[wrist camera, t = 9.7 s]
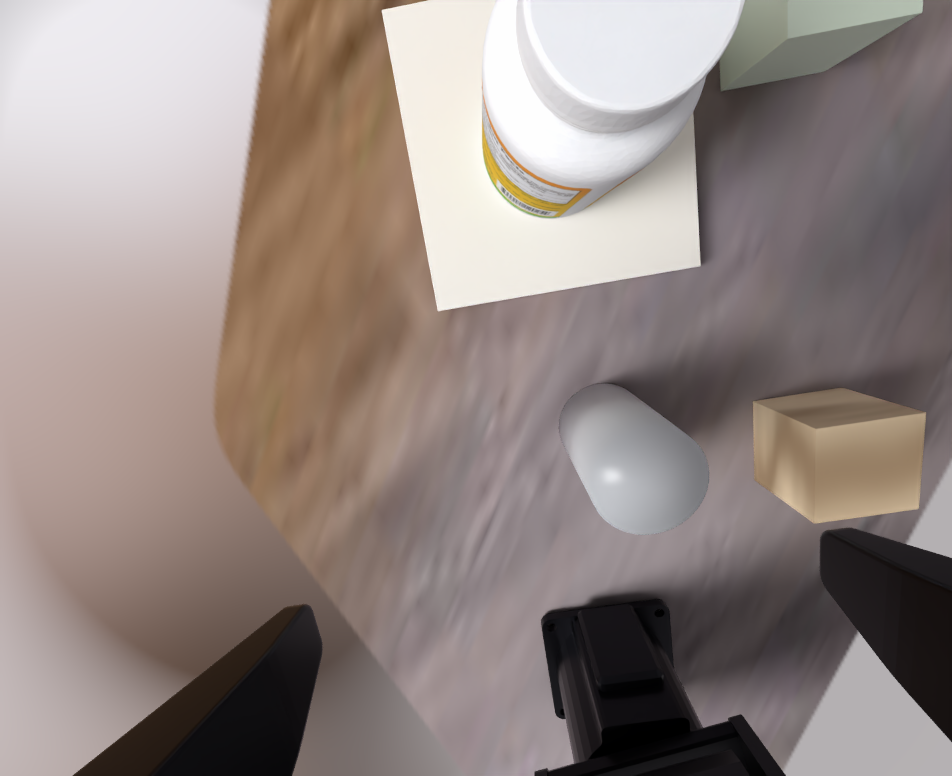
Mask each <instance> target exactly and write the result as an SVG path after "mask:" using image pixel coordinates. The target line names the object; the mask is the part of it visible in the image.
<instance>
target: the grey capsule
mask: <svg viewBox="0 0 952 776" xmlns="http://www.w3.org/2000/svg"><path fill="white" fill-rule="evenodd" d="M559 434H560V438H561V441H562V443H563V445H564V447H565V449H566V451H567V453H568V455H569V457H570V459H571V461H572V463H573V465H574V467H575V469H576V471H577V473H578V474H579V476H580V478H581V480H582V482H583V484H584V486H585V488H586V490H587V492H588V494H589V496H590V498H591V500H592V502H593V504H594V506H595V508H596V510H597V511H598V513H599V514H600V515H601V517H602V518H603V519H604V520H605V521H606V522H608V523H609V524H610V525H612V526H613V527H615V528H617V529H619V530H622V531H624V532H628V533H631V534H638V535H649V534H657V533H661V532H665V531H668V530H670V529H672V528H674V527H676V526H678V525H680V524H681V523H683V522H684V521H686V520H687V519H688V518H689V517H690V516H691V515H692V514H693V513H694V512H695V511H696V510H697V509H698V507H699V506H700V504H701V503H702V501H703V499H704V497H705V494H706V491H707V488H708V483H709V467H708V463H707V459H706V457H705V455H704V453H703V451H702V449H701V448H700V446H699V445H698V444H697V443H696V442H695V441H694V440H693V439H692V438H691V437H689V436H688V435H687V434H685V433H684V432H683V431H681V430H680V429H679V428H677V427H676V426H675V425H673V424H672V423H671V422H669V421H668V420H667V419H665V418H664V417H663V416H661V415H660V414H659V413H657V412H656V411H655V410H653V409H652V408H651V407H649V406H648V405H647V404H645V403H644V402H643V401H641V400H640V399H639V398H637V397H636V396H635V395H633V394H632V393H631V392H629V391H628V390H626V389H625V388H622V387H620V386H617V385H614V384H604V383H602V384H595V385H591V386H588V387H585V388H584V389H582V390H580V391H578V392H577V393H576V394H574V395H573V396H572V397H571V398H570V399H569V400H568V402H567V403H566V404H565V406H564V408H563V410H562V412H561V415H560V419H559Z"/></svg>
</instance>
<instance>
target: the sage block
mask: <svg viewBox="0 0 952 776" xmlns="http://www.w3.org/2000/svg"><path fill="white" fill-rule="evenodd" d="M922 12H923V0H745V2H744V6H743V10H742V13H741V16H740V19H739V22H738V25H737V28H736V30H735V33H734V35H733V37H732V39H731V41H730V43H729V45H728V46H727V48H726V50H725V51H724V53H723V55H722V56H721V58H720V89H721V91H725V90H731V89H736V88H741V87H746V86H752V85H757V84H762V83H767V82H773V81H778V80H783V79H789V78H794V77H799V76H804V75H810V74H815V73H820V72H825V71H827V70H828V69H830V68H831V67H833V66H835V65H836V64H838V63H840V62H841V61H843V60H845V59H846V58H848V57H850V56H851V55H853V54H855V53H856V52H858V51H860V50H861V49H863V48H865V47H866V46H868V45H870V44H871V43H873V42H874V41H876V40H878V39H879V38H881V37H883V36H884V35H886V34H888V33H889V32H891V31H893V30H894V29H896V28H898V27H899V26H901V25H903V24H904V23H906V22H908V21H909V20H911V19H913V18H914V17H916V16H918V15H919V14H921V13H922Z"/></svg>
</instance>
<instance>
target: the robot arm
mask: <svg viewBox="0 0 952 776" xmlns="http://www.w3.org/2000/svg"><path fill="white" fill-rule="evenodd" d="M820 576H821V580H822V582H823V584H824V586H825V588H826V589H827V591H828V592H829V593H830V594H831V596H832V597H833V598H834V600H835V601H836V602H837V604H838V605H839V606H840V608H841V609H842V610H843V611H844V613H845V614H846V615H847V617H848V618H849V619H850V621H851V622H852V623H853V625H854V626H855V627H856V629H857V630H858V631H859V632H860V634H861V635H862V636H863V638H864V639H865V640H866V642H867V643H868V644H869V646H870V647H871V648H872V650H873V651H874V652H875V653H876V655H877V656H878V657H879V659H880V660H881V661H882V662H883V664H884V665H885V666H886V668H887V669H888V670H889V671H890V673H891V674H892V675H893V676H894V677H895V679H896V680H897V681H898V682H899V683H900V684H901V686H902V687H903V688H904V689H905V690H906V691H907V693H908V694H909V695H910V696H911V697H912V698H913V699H914V700H915V702H916V703H917V704H918V705H919V706H920V707H921V708H922V709H923V710H924V712H925V713H926V714H927V715H928V716H929V717H930V718H931V719H932V721H934V723H935V724H936V725H937V726H938V727H939V728H940V729H941V731H942V732H943V733H944V734H945V735H946V736H947V737H948V738H949V739H950V740H951V742H952V558H949V557H946V556H943V555H940V554H936V553H933V552H930V551H927V550H923V549H920V548H917V547H913V546H910V545H907V544H903V543H900V542H897V541H893V540H890V539H887V538H884V537H880V536H877V535H874V534H870V533H867V532H864V531H860V530H857V529H854V528H840V529H833V530H827V531H825V532H823V533H822V535H821V537H820ZM657 609H660V611H657V612H655V611H656V610H657ZM551 623H553V624H554V625H552V626H548V624H551ZM541 626H542V632H543V639H544V645H545V651H546V658H547V664H548V670H549V677H550V683H551V689H552V696H553V702H554V708H555V713H556V716H557V717H559V718H561V719H566V723H567V728H568V733H569V738H570V743H571V749H572V754H573V759H574V764H571V765H567V766H564V767H560V768H556V769H553V770H548V768H546V769H542V770H539V771H535V776H786V775H785V774H784V773H783V771H782V770H781V768H780V767H779V766H778V764H777V763H776V761H775V760H774V759H773V757H772V756H771V755H770V753H769V752H768V750H767V749H766V748H765V746H764V745H763V743H762V742H761V741H760V739H759V738H758V737H757V735H756V734H755V732H754V731H753V730H752V728H751V727H750V725H749V724H748V723H747V721H746V720H745V719H744V717H743V716H742V715H741V714H740V715H737V716H733V717H730V718H728V721H726V722H723V723H719V724H715V725H712V726H708V727H705V728H703V727H702V725H701V723H700V721H699V719H698V717H697V715H696V713H695V711H694V709H693V707H692V705H691V703H690V701H689V699H688V697H687V695H686V692H685V690H684V688H683V686H682V684H681V682H680V680H679V678H678V676H677V674H676V672H675V670H674V666H673V653H672V639H671V626H670V613H669V609H668V607H667V605H666V604H665V602H664V601H662V600H660V599H654V600H647V601H639V602H632V603H624V604H617V605H610V606H602V607H595V608H588V609H580V610H573V611H565V612H558V613H551V614H547V615H545V616H543V618H542V619H541ZM321 657H322V640H321V636H320V633H319V630H318V626H317V623H316V620H315V616H314V613H313V610H312V608H311V607H310V606H309V605H307V604H302V605H294V606H289V607H285V608H284V609H283V610H281V611H280V612H279V613H277V614H276V615H275V616H273V617H272V618H271V619H270V620H269V621H267V622H266V623H265V624H264V625H262V626H261V627H260V628H258V629H257V630H256V631H254V633H252V634H251V635H250V636H248V637H247V638H246V639H244V640H243V641H242V642H241V643H239V644H238V645H237V646H236V647H234V648H233V649H232V650H230V652H228V653H227V654H226V655H224V656H223V657H222V658H220V659H219V660H218V661H217V662H215V663H214V664H213V665H212V666H210V667H209V668H208V669H207V670H205V671H204V672H203V673H202V674H200V675H199V676H198V677H196V678H195V679H194V680H193V681H191V682H190V683H189V684H188V685H186V686H185V687H184V688H183V689H182V690H180V691H179V692H177V693H176V694H175V695H174V696H172V697H171V698H170V699H169V700H167V701H166V702H165V703H164V704H162V705H161V706H160V707H159V708H157V709H156V710H155V711H154V712H152V713H151V714H150V715H148V716H147V717H146V718H145V719H143V720H142V721H141V722H140V723H138V724H137V725H136V726H135V727H133V728H132V729H131V730H129V731H128V732H127V733H126V734H124V735H123V736H122V737H121V738H119V739H118V740H117V741H116V742H115V743H113V744H112V745H111V746H109V747H108V748H107V749H106V750H104V751H103V752H102V753H100V754H99V755H98V756H97V757H95V758H94V759H93V760H92V761H90V762H89V763H88V764H87V765H85V766H84V767H83V768H82V769H80V770H79V771H78V772H76V773H75V774H74V775H73V776H292V774H293V771H294V768H295V764H296V761H297V758H298V754H299V751H300V747H301V743H302V739H303V735H304V731H305V727H306V722H307V718H308V713H309V710H310V705H311V701H312V697H313V692H314V688H315V683H316V679H317V675H318V670H319V666H320V661H321ZM563 708H564V709H563Z"/></svg>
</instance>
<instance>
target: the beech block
mask: <svg viewBox="0 0 952 776" xmlns="http://www.w3.org/2000/svg"><path fill="white" fill-rule="evenodd" d="M925 421H926V412H923V411H919V410H916V409H913V408H909V407H906V406H902V405H899V404H896V403H892V402H889V401H886V400H882V399H879V398H875V397H872V396H869V395H865V394H862V393H859V392H855V391H852V390H849V389H845V388H836V389H829V390H823V391H816V392H810V393H803V394H797V395H790V396H784V397H777V398H771V399H764V400H758V401H753V426H754V480H755V481H757V482H758V483H759V484H761V485H762V486H763V487H765V488H766V489H768V490H769V491H770V492H772V493H773V494H774V495H776V496H777V497H779V498H780V499H781V500H783V501H784V502H785V503H787V504H788V505H790V506H791V507H792V508H794V509H795V510H796V511H798V512H799V513H801V514H802V515H803V516H805V517H806V518H807V519H809V520H810V521H811V522H813V523H814V524H815V523H822V522H829V521H836V520H843V519H851V518H858V517H865V516H872V515H879V514H886V513H893V512H901V511H908V510H915V509H919V498H920V485H921V472H922V459H923V446H924V434H925Z"/></svg>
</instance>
